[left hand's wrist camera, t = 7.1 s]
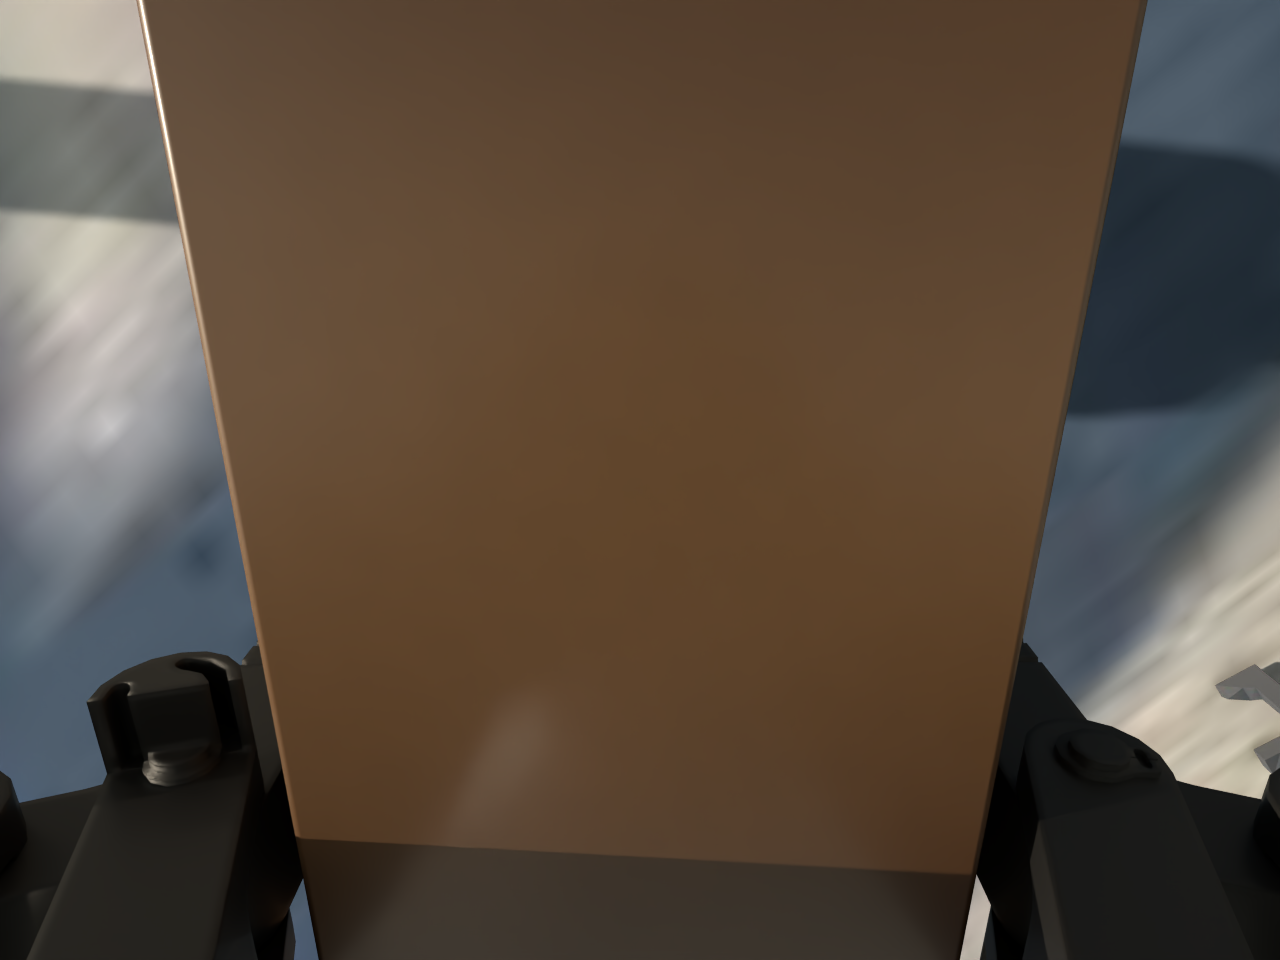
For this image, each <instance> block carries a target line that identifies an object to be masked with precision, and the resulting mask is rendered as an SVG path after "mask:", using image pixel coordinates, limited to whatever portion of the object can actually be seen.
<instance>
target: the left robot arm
mask: <svg viewBox="0 0 1280 960" xmlns="http://www.w3.org/2000/svg"><path fill="white" fill-rule="evenodd" d="M87 705H88V709H89V712H90V716H91V719H92V723H93V726H94V730H95V733H96V737H97V740H98V744H99V747H100V751H101V754H102V757H103V761H104V764H105V768H106V771H107V776H106V778H105V780H104V783H103V784H102V785H98V786H95V787H91V788H88V789H83V790H79V791H74V792H69V793H64V794H60V795H55V796H50V797H45V798H41V799H36V800H31V801H26V802H22V803H19V801H18V798H17V796H16V793H15V790H14V787H13V784H12V781H11V779H10V778H9V777H8V776H6V775H5V774H4V773H2V772H1V771H0V960H294V952H295V943H296V941H295V935H294V928H293V922H292V917H291V913H290V908H289V907H290V905H291V903H292V901H293V899H294V896H295V894H296V892H297V890H298V888H299V886H300V884H301V881H302V879H303V874H302V869H301V864H300V858H299V853H298V848H297V842H296V837H295V832H294V827H293V821H292V816H291V811H290V806H289V800H288V795H287V790H286V785H285V779H284V774H283V769H282V764H281V758H280V753H279V748H278V743H277V737H276V732H275V727H274V721H273V716H272V711H271V706H270V700H269V695H268V690H267V685H266V679H265V674H264V669H263V664H262V658H261V653H260V648H259V643H258V641H257V646H253V647H252V648H251V650H250V651H249V652H248V654H247V655H246V656H245V657H244V659H243V660H242V665H239V664H238V663H236V662H235V661H234V660H233V659H231V658H230V657H229V656H226V655H222V654H217V653H212V652H185V653H177V654H173V655H168V656H164V657H160V658H155V659H151V660H149V661H146V662H144V663H141V664H139V665H136V666H134V667H132V668H129V669H127V670H124V671H123V672H121V673H119V674H118V675H116V676H115V677H113V678H112V679H110V680H109V681H107V682H106V683H104V684H102V685H101V686H100V687H99V688H98V689H97V691H96V692H95V693H94V694H93V695H92V696H91V697H90V699H89V700H88V701H87ZM977 876H978V878H979V880H980V883H981V885H982V887H983V889H984V891H985V893H986V895H987V898H988V900H989V902H990V904H991V908H990V913H989V917H988V922H987V927H986V932H985V937H984V942H983V947H982V952H981V957H980V960H1280V768H1279V769H1277V770H1276V771H1275V772H1273V773H1272V774H1270V776H1269V779H1268V782H1267V785H1266V788H1265V790H1264V793H1263V796H1262V799H1257V798H1252V797H1247V796H1242V795H1238V794H1233V793H1228V792H1223V791H1219V790H1214V789H1209V788H1204V787H1199V786H1195V785H1191V784H1187V783H1184V782H1180V781H1176V779H1175V776H1174V774H1173V772H1172V771H1171V770H1170V768H1169V767H1168V766H1167V764H1166V763H1165V761H1164V760H1163V759H1162V757H1161V756H1160V755H1159V754H1158V753H1156V752H1155V751H1154V750H1152V749H1151V748H1150V747H1148V746H1147V745H1146V744H1144V743H1143V742H1142V741H1140V740H1139V739H1137V738H1135V737H1133V736H1131V735H1129V734H1127V733H1125V732H1122V731H1120V730H1118V729H1116V728H1114V727H1112V726H1108V725H1104V724H1100V723H1097V722H1093V721H1089V720H1087V719H1086V718H1085V717H1084V716H1083V714H1082V713H1081V712H1080V710H1079V709H1078V708H1077V707H1076V705H1075V704H1074V703H1073V702H1072V700H1071V699H1070V698H1069V696H1068V695H1067V694H1066V693H1065V691H1064V690H1063V689H1062V688H1061V686H1060V685H1059V684H1058V682H1057V681H1056V680H1055V679H1054V677H1053V676H1052V675H1051V674H1050V672H1049V671H1048V670H1047V668H1046V667H1045V666H1044V665H1043V663H1042V662H1038V657H1037V656H1036V654H1035V653H1034V652H1033V651H1032V649H1031V648H1030V647H1029V646H1028V644H1027V643H1023V639H1022V644H1021V649H1020V654H1019V659H1018V665H1017V670H1016V675H1015V680H1014V685H1013V690H1012V695H1011V700H1010V705H1009V711H1008V716H1007V721H1006V726H1005V731H1004V736H1003V741H1002V746H1001V751H1000V757H999V762H998V767H997V772H996V777H995V782H994V787H993V792H992V797H991V802H990V808H989V813H988V818H987V823H986V828H985V833H984V838H983V843H982V848H981V854H980V859H979V864H978V869H977Z"/></svg>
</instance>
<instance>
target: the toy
mask: <svg viewBox="0 0 1280 960" xmlns="http://www.w3.org/2000/svg"><path fill="white" fill-rule="evenodd" d="M1215 686H1216V688H1217V689H1218V691H1219V693H1220V694H1221V696H1222V697H1224V698H1227V699H1235V700H1259V699H1263V700H1264V701H1265V702H1266V703H1268V704H1269V705H1270V706H1271V707H1272V708H1274V709H1275V710H1276V711H1277V712H1278V713H1280V684H1279V683H1277V682H1276V681H1275V680H1274V679H1272V678H1271V677H1270V676H1269V675H1267V674H1266V673H1265V672H1264V671H1262V670H1261V669H1260V668H1259V667H1257V666H1256V665H1255V664H1254V665H1253V666H1251V667H1249V668H1247V669H1245V670H1243V671H1241V672H1239V673H1238V674H1236V675H1234V676H1232V677H1230V678H1228V679H1226V680H1224V681H1223V682H1221V683H1219V684H1217V685H1215ZM1254 751H1255V753H1256V754H1257V756H1258V758H1259V759H1260V761H1261V763H1262V764H1263V766H1264V767H1265V768H1266V769H1267V770H1268V771H1269V772H1270V773H1271V774H1272V773H1273V772H1275V771H1276V770H1277V769H1279V768H1280V737H1278V738H1276V739H1274V740H1272V741H1270V742H1268V743H1266V744H1264V745H1262V746H1260V747H1258V748H1256V749H1254Z"/></svg>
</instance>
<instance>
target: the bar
mask: <svg viewBox="0 0 1280 960" xmlns="http://www.w3.org/2000/svg"><path fill="white" fill-rule="evenodd" d="M136 1H137V6H138V11H139V17H140V22H141V27H142V32H143V38H144V43H145V48H146V53H147V59H148V64H149V69H150V74H151V80H152V85H153V90H154V95H155V101H156V106H157V111H158V117H159V122H160V127H161V132H162V138H163V143H164V148H165V153H166V159H167V164H168V169H169V174H170V180H171V185H172V190H173V195H174V201H175V206H176V211H177V216H178V222H179V227H180V232H181V238H182V243H183V248H184V253H185V259H186V264H187V269H188V274H189V280H190V285H191V290H192V295H193V301H194V306H195V311H196V316H197V322H198V327H199V332H200V337H201V343H202V348H203V353H204V359H205V364H206V369H207V374H208V380H209V385H210V390H211V395H212V401H213V406H214V411H215V416H216V422H217V427H218V432H219V437H220V443H221V448H222V453H223V458H224V464H225V469H226V474H227V479H228V485H229V490H230V495H231V501H232V506H233V511H234V516H235V522H236V527H237V532H238V537H239V543H240V548H241V553H242V558H243V564H244V569H245V574H246V579H247V585H248V590H249V595H250V600H251V606H252V611H253V616H254V622H255V627H256V632H257V637H258V643H259V648H260V653H261V658H262V664H263V669H264V674H265V679H266V685H267V690H268V695H269V700H270V706H271V711H272V716H273V721H274V727H275V732H276V737H277V743H278V748H279V753H280V758H281V764H282V769H283V774H284V779H285V785H286V790H287V795H288V800H289V806H290V811H291V816H292V821H293V827H294V832H295V837H296V842H297V848H298V853H299V858H300V864H301V869H302V874H303V879H304V885H305V890H306V895H307V900H308V906H309V911H310V916H311V921H312V927H313V932H314V937H315V942H316V948H317V953H318V958H319V960H960V956H961V951H962V946H963V940H964V935H965V930H966V925H967V920H968V915H969V910H970V905H971V900H972V894H973V889H974V884H975V879H976V874H977V869H978V864H979V859H980V854H981V848H982V843H983V838H984V833H985V828H986V823H987V818H988V813H989V808H990V802H991V797H992V792H993V787H994V782H995V777H996V772H997V767H998V762H999V757H1000V751H1001V746H1002V741H1003V736H1004V731H1005V726H1006V721H1007V716H1008V711H1009V705H1010V700H1011V695H1012V690H1013V685H1014V680H1015V675H1016V670H1017V665H1018V659H1019V654H1020V649H1021V644H1022V639H1023V634H1024V629H1025V624H1026V619H1027V613H1028V608H1029V603H1030V598H1031V593H1032V588H1033V583H1034V578H1035V573H1036V568H1037V562H1038V557H1039V552H1040V547H1041V542H1042V537H1043V532H1044V527H1045V522H1046V516H1047V511H1048V506H1049V501H1050V496H1051V491H1052V486H1053V481H1054V476H1055V470H1056V465H1057V460H1058V455H1059V450H1060V445H1061V440H1062V435H1063V430H1064V424H1065V419H1066V414H1067V409H1068V404H1069V399H1070V394H1071V389H1072V384H1073V378H1074V373H1075V368H1076V363H1077V358H1078V353H1079V348H1080V343H1081V338H1082V333H1083V327H1084V322H1085V317H1086V312H1087V307H1088V302H1089V297H1090V292H1091V287H1092V281H1093V276H1094V271H1095V266H1096V261H1097V256H1098V251H1099V246H1100V241H1101V235H1102V230H1103V225H1104V220H1105V215H1106V210H1107V205H1108V200H1109V195H1110V189H1111V184H1112V179H1113V174H1114V169H1115V164H1116V159H1117V154H1118V149H1119V143H1120V138H1121V133H1122V128H1123V123H1124V118H1125V113H1126V108H1127V103H1128V98H1129V92H1130V87H1131V82H1132V77H1133V72H1134V67H1135V62H1136V57H1137V52H1138V46H1139V41H1140V36H1141V31H1142V26H1143V21H1144V16H1145V11H1146V6H1147V0H136Z"/></svg>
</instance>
